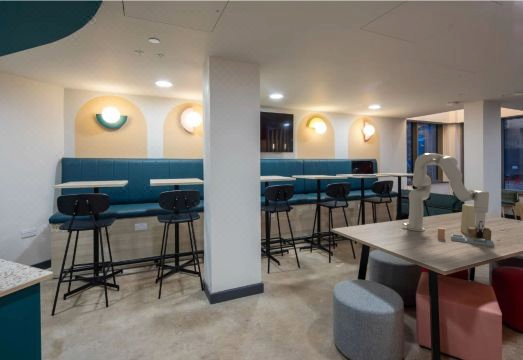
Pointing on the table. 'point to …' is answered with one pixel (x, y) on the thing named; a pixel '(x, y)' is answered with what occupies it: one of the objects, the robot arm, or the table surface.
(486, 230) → the brown tabbed block
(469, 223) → the toy refrigerator
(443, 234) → the brown rectangular brick
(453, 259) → the table surface
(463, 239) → the jig
